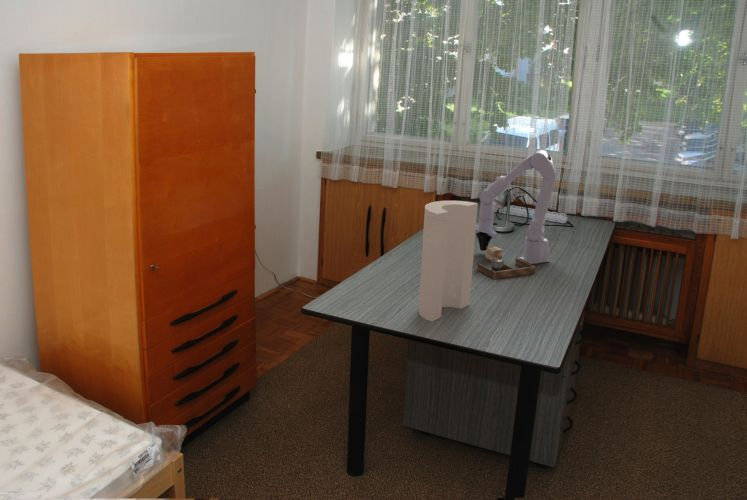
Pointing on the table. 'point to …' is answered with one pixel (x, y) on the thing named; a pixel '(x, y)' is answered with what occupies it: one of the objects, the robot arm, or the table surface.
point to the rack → (508, 270)
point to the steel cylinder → (497, 265)
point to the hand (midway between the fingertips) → (483, 250)
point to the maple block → (493, 253)
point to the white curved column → (447, 256)
